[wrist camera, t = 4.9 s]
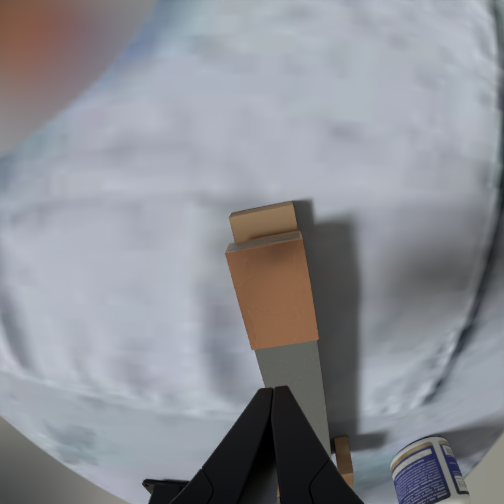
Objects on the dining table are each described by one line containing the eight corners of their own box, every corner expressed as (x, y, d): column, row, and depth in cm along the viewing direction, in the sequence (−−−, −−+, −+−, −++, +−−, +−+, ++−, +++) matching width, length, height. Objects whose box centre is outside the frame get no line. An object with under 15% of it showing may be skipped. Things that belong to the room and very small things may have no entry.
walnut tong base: (347, 452, 21) (353, 487, 18) (276, 461, 22) (275, 497, 19) (320, 195, 15) (332, 211, 12) (204, 218, 16) (185, 239, 13)
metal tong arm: (333, 463, 20) (334, 477, 19) (291, 469, 21) (291, 483, 19) (300, 229, 14) (303, 239, 13) (229, 243, 15) (224, 254, 13)
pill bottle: (381, 474, 23) (398, 561, 13) (400, 439, 21) (427, 539, 11) (434, 465, 22) (458, 543, 13) (456, 429, 20) (493, 516, 11)
